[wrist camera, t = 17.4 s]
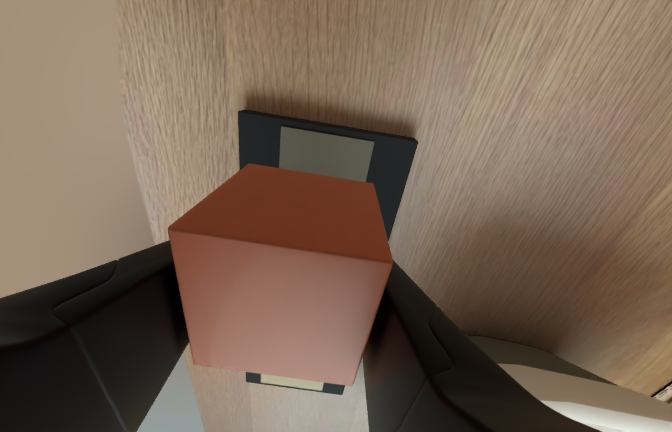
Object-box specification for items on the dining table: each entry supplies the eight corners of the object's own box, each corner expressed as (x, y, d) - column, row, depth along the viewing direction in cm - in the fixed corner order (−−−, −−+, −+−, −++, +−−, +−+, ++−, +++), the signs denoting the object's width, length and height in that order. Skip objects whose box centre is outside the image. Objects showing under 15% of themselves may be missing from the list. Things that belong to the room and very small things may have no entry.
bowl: (520, 443, 31) (575, 558, 23) (340, 409, 29) (337, 520, 22) (677, 326, 21) (864, 464, 13) (414, 263, 19) (456, 380, 11)
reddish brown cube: (249, 263, 11) (192, 365, 7) (248, 162, 9) (165, 227, 5) (351, 278, 11) (353, 387, 7) (374, 182, 9) (395, 262, 5)
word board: (249, 372, 26) (227, 435, 22) (244, 109, 14) (192, 121, 10) (342, 385, 27) (341, 450, 22) (414, 137, 15) (445, 163, 10)
